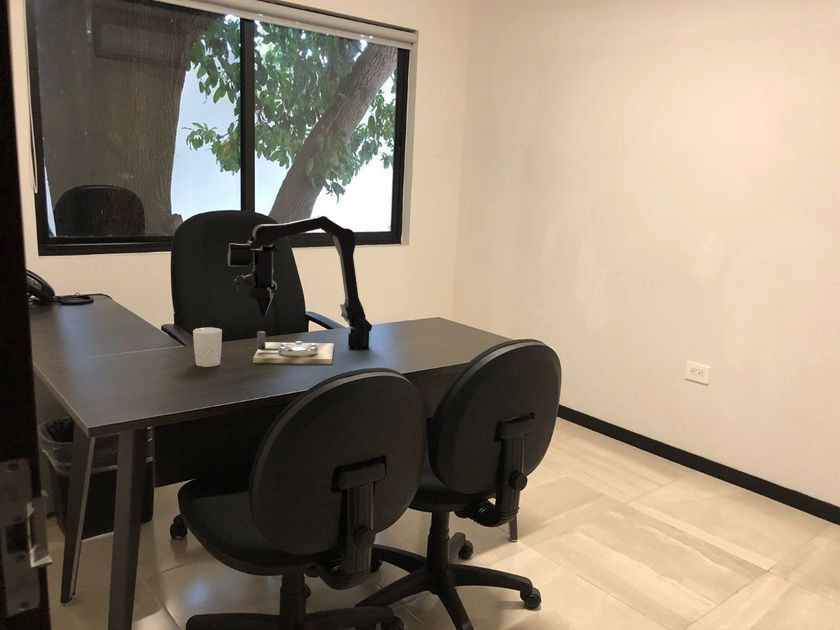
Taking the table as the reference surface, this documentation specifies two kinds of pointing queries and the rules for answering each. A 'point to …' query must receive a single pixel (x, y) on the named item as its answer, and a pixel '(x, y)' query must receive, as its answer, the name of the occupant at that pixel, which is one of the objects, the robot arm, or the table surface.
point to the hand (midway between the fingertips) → (263, 316)
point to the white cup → (207, 346)
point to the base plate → (273, 357)
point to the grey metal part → (288, 347)
